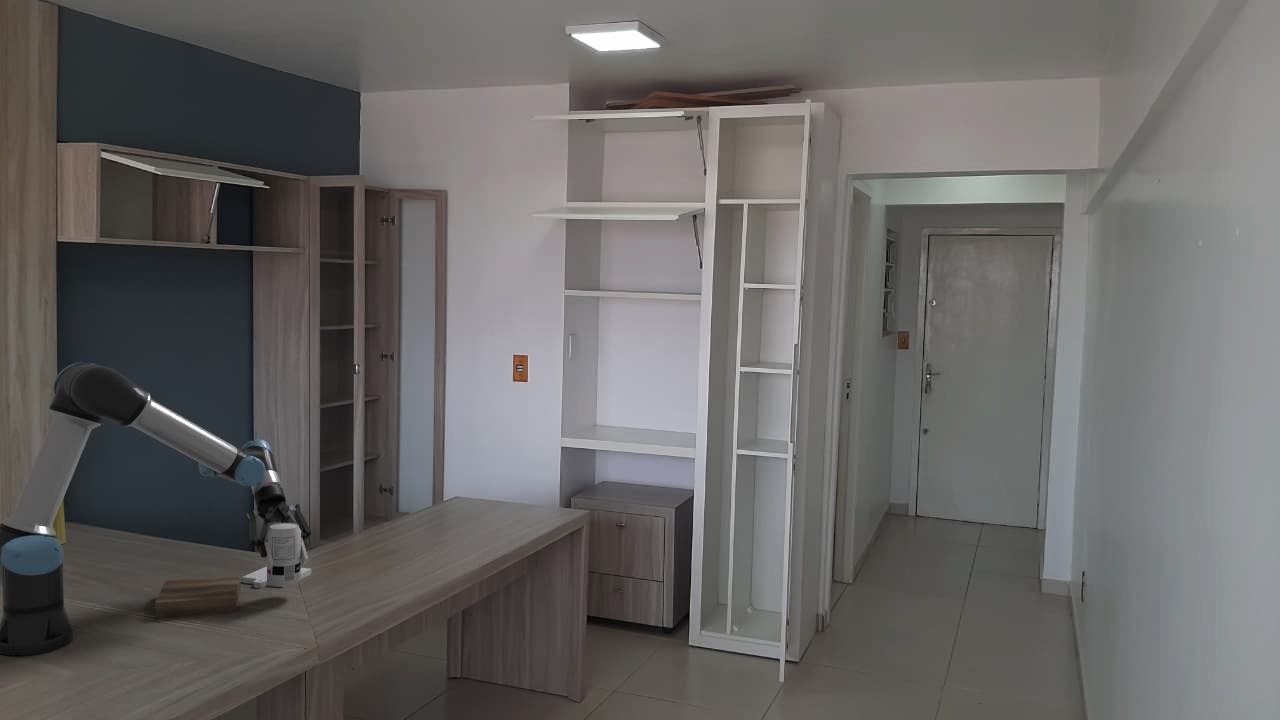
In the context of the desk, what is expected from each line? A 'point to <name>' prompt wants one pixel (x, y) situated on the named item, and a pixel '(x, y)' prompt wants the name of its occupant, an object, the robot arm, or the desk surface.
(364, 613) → the desk surface
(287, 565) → the supplement can
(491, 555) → the desk surface
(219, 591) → the walnut riser
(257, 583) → the mounting plate
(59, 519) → the vase
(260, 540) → the robot arm
